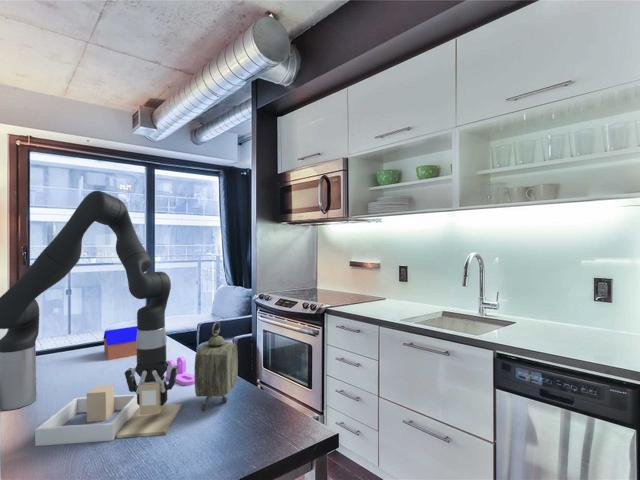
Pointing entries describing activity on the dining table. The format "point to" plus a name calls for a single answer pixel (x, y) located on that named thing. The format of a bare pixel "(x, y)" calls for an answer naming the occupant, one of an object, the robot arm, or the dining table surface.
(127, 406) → the bin
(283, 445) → the dining table surface
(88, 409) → the plain box
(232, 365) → the tabletop clock
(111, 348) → the house
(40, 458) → the dining table surface
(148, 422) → the board
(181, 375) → the bracket
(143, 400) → the labelled box
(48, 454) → the dining table surface
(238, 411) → the dining table surface
